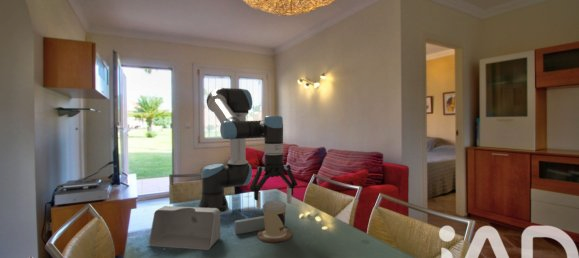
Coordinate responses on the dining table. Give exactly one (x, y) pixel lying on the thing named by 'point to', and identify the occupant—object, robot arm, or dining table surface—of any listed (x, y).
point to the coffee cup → (274, 218)
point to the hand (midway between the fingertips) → (274, 205)
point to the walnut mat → (266, 238)
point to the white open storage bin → (185, 227)
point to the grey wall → (249, 225)
